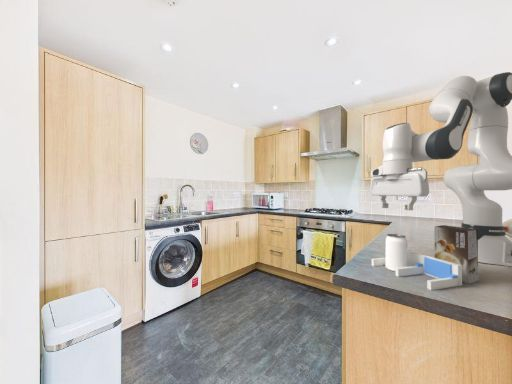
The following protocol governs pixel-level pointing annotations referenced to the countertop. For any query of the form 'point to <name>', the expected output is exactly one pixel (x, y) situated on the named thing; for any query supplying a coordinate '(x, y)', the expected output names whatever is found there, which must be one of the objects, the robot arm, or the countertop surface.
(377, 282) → the countertop surface
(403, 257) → the can
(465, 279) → the coffee box
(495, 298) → the countertop surface
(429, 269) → the white pronged rack
